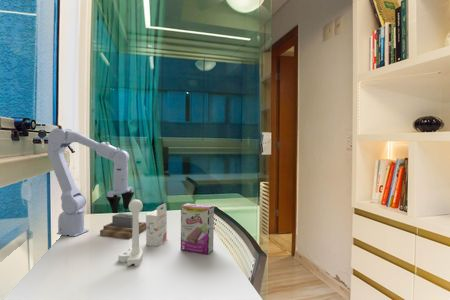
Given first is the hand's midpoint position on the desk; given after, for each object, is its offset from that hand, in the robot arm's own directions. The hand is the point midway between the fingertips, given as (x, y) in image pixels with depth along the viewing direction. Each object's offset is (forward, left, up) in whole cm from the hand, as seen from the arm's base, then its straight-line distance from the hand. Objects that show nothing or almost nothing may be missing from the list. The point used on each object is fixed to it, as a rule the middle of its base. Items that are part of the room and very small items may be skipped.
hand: (120, 210), depth 121 cm
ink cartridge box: (+20, -6, -10) cm, 23 cm away
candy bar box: (+38, -9, -10) cm, 40 cm away
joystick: (+20, -23, -10) cm, 32 cm away
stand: (+1, +1, -9) cm, 9 cm away
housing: (+1, +1, -7) cm, 7 cm away
